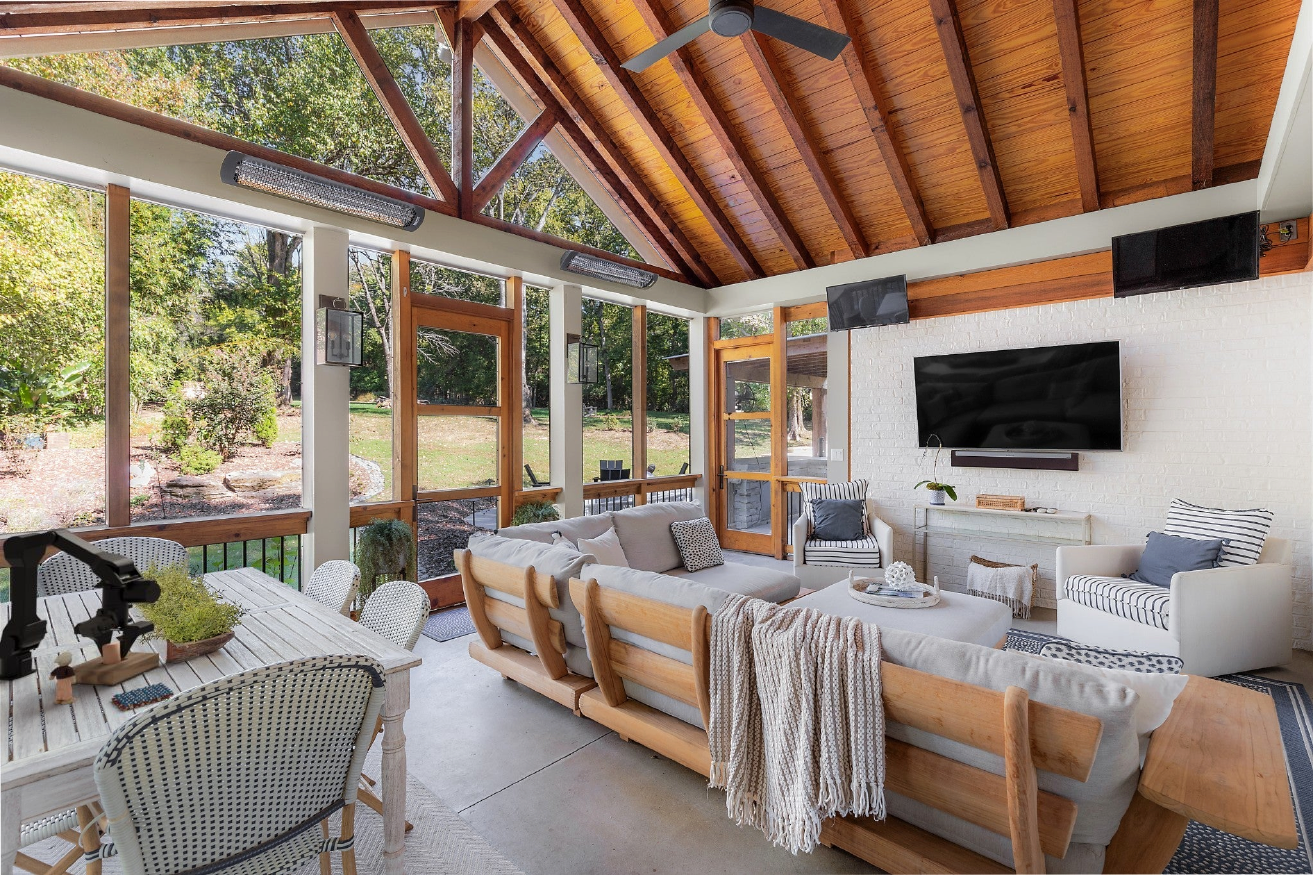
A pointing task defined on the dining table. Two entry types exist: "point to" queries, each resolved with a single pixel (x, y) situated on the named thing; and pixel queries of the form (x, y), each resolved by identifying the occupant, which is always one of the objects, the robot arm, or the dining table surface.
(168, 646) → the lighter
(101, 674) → the bore block
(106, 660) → the peg
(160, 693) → the woven mat
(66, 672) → the grandmother figurine
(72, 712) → the dining table surface
